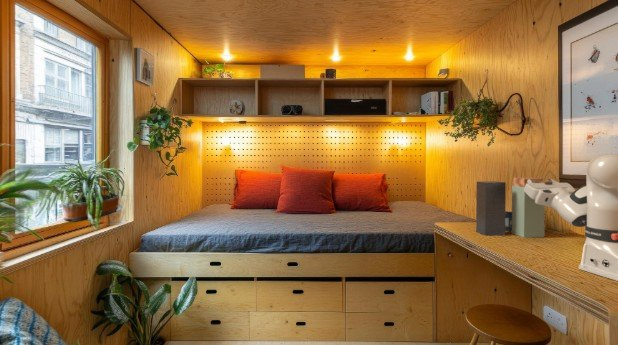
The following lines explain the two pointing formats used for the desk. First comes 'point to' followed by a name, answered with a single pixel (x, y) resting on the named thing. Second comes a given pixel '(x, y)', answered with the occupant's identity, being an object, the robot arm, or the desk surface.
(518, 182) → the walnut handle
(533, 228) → the sage tower
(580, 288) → the desk surface
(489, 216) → the tower
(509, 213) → the vhs cassette tape
